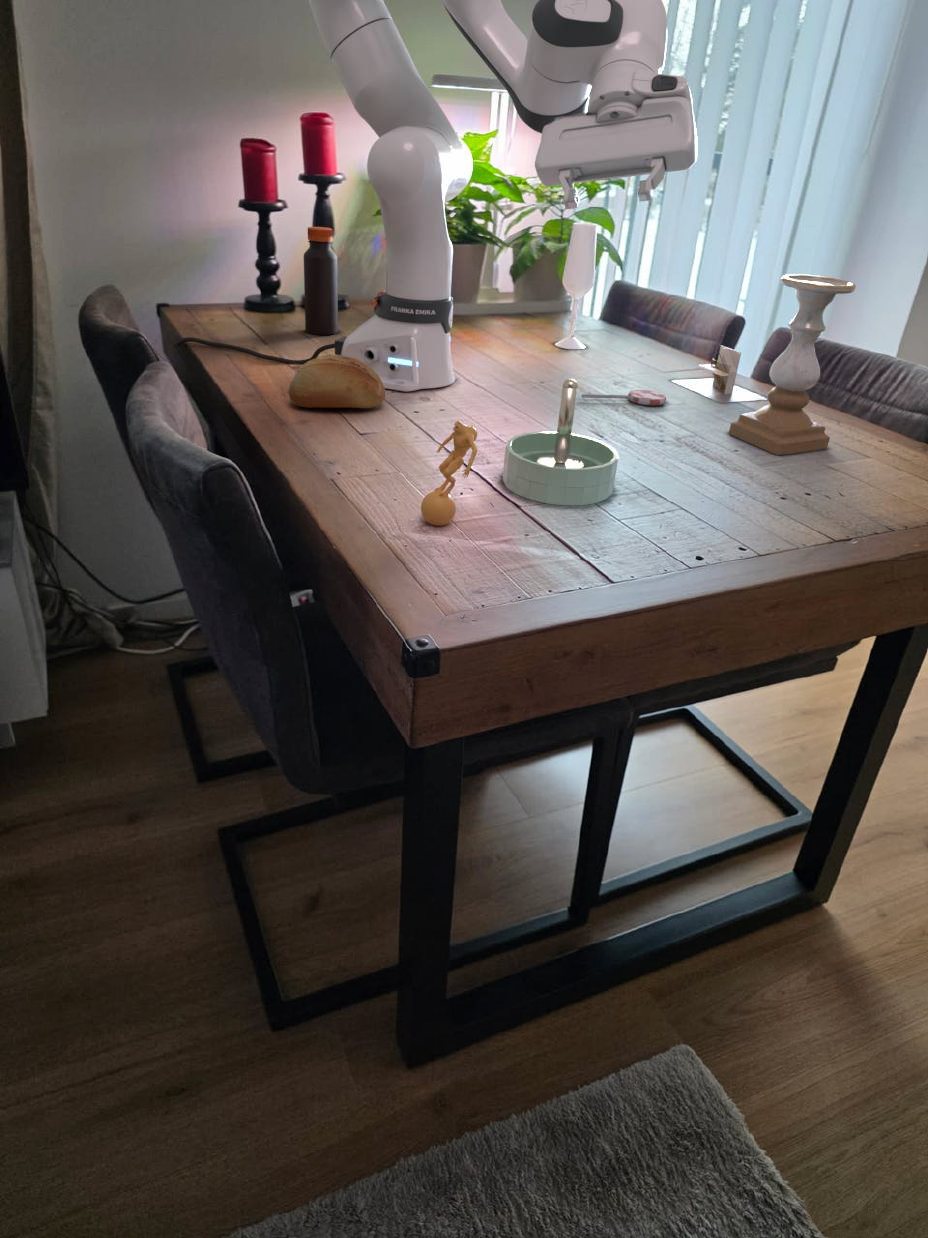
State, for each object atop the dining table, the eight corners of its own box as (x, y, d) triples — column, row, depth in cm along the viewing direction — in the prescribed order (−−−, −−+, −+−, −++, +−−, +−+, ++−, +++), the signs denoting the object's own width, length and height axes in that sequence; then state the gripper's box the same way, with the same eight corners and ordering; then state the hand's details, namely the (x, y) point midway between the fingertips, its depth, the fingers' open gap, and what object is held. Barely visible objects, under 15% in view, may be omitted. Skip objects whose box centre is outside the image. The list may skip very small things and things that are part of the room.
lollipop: (577, 387, 150) (658, 389, 152) (576, 393, 150) (657, 395, 153) (587, 398, 144) (671, 400, 146) (586, 404, 145) (670, 406, 147)
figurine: (409, 511, 100) (413, 411, 94) (456, 507, 103) (463, 408, 97) (434, 541, 94) (440, 435, 88) (484, 535, 96) (493, 431, 90)
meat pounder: (532, 489, 108) (544, 382, 102) (536, 473, 114) (548, 370, 107) (579, 495, 108) (595, 387, 101) (581, 478, 113) (596, 375, 106)
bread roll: (386, 418, 131) (387, 365, 127) (287, 415, 129) (285, 362, 125) (383, 400, 139) (384, 350, 135) (290, 397, 137) (288, 346, 133)
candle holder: (777, 455, 128) (821, 287, 116) (726, 433, 136) (763, 273, 124) (828, 448, 132) (876, 286, 121) (776, 427, 141) (816, 273, 129)
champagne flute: (590, 345, 185) (607, 224, 173) (577, 350, 180) (593, 226, 168) (563, 340, 188) (577, 221, 176) (549, 345, 183) (563, 222, 171)
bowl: (496, 500, 105) (500, 461, 103) (508, 462, 118) (512, 426, 115) (611, 513, 104) (618, 475, 102) (612, 473, 116) (617, 438, 114)
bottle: (335, 336, 177) (334, 231, 167) (302, 334, 177) (299, 228, 167) (340, 329, 183) (339, 227, 173) (308, 327, 183) (305, 225, 172)
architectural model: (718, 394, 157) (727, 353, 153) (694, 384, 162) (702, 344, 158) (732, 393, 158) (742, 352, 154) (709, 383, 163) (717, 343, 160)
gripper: (538, 100, 110) (520, 192, 108) (700, 74, 102) (685, 173, 100) (551, 137, 116) (535, 226, 113) (705, 116, 108) (692, 210, 105)
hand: (606, 201), depth 106 cm, fingers open, 8 cm apart
